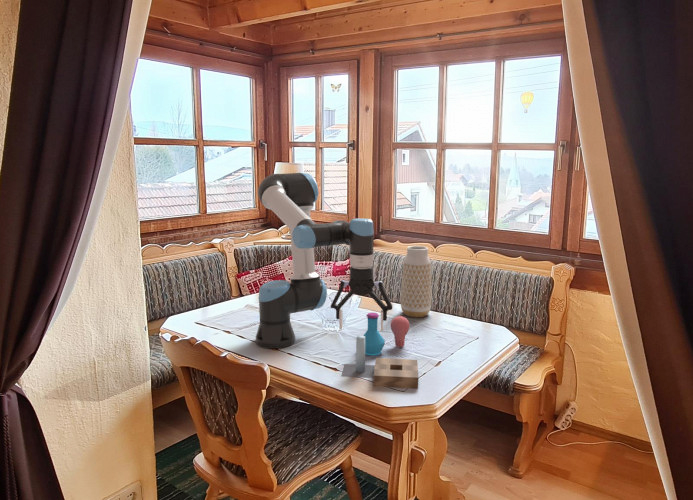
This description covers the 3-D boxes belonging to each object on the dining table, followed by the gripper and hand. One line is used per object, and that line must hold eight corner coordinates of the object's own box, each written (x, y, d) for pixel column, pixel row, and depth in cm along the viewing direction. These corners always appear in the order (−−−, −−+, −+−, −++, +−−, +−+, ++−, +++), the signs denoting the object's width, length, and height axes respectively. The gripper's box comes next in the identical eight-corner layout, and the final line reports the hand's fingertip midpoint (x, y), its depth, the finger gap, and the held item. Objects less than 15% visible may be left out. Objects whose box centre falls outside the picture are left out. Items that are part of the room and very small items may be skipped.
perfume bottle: (358, 348, 199) (358, 310, 196) (382, 347, 200) (383, 309, 197) (361, 358, 190) (361, 318, 188) (386, 357, 191) (387, 317, 188)
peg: (355, 372, 178) (356, 338, 175) (356, 368, 181) (356, 335, 178) (364, 372, 177) (365, 338, 175) (365, 369, 180) (365, 335, 178)
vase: (435, 312, 242) (438, 246, 235) (423, 321, 230) (425, 252, 224) (408, 307, 249) (410, 243, 243) (394, 315, 237) (396, 248, 231)
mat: (341, 377, 175) (341, 376, 175) (344, 364, 185) (344, 363, 184) (377, 379, 174) (377, 378, 174) (378, 366, 183) (378, 365, 183)
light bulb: (396, 351, 196) (397, 320, 194) (386, 345, 203) (387, 315, 200) (412, 348, 200) (413, 318, 197) (402, 342, 206) (402, 312, 204)
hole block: (373, 387, 168) (373, 375, 167) (375, 368, 182) (375, 357, 181) (418, 389, 166) (418, 377, 166) (416, 370, 180) (417, 359, 179)
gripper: (321, 268, 169) (322, 331, 173) (400, 269, 167) (399, 334, 171) (325, 263, 177) (325, 324, 181) (400, 264, 174) (399, 326, 178)
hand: (361, 329), depth 176 cm, fingers open, 13 cm apart
